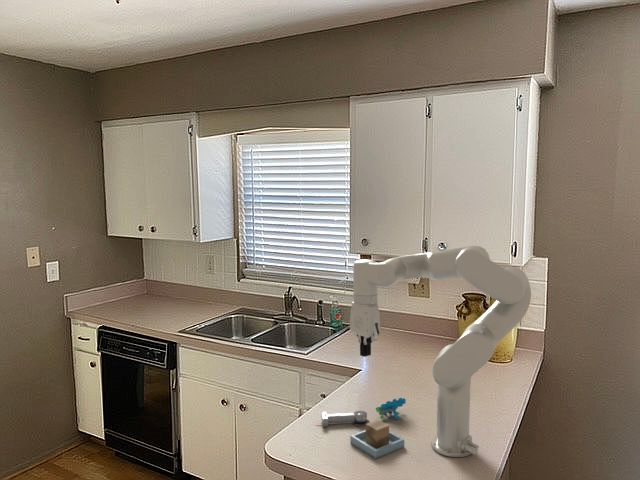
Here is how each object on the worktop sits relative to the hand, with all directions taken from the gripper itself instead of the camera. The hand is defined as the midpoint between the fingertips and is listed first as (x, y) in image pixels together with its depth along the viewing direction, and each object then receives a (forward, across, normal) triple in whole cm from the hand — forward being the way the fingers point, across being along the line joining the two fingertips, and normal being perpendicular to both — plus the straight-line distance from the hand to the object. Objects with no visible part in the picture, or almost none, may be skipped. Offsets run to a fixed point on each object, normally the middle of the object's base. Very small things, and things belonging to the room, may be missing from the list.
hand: (365, 355), depth 167 cm
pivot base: (+25, -7, -3) cm, 26 cm away
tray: (+25, +10, -4) cm, 27 cm away
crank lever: (+25, -8, -3) cm, 26 cm away
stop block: (+24, +10, -3) cm, 26 cm away
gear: (+25, -2, +13) cm, 29 cm away
